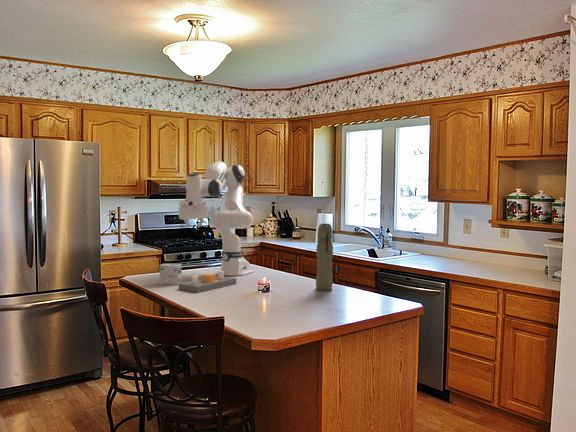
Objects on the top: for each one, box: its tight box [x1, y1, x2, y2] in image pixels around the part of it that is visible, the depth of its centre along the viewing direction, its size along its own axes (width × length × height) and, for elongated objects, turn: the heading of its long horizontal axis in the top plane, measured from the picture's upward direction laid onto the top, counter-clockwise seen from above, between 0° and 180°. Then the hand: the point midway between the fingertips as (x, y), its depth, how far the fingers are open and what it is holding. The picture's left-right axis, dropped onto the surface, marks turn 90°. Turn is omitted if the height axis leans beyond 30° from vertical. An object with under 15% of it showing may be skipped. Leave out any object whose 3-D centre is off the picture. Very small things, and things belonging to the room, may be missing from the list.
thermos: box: [315, 223, 334, 292], centre depth 279 cm, size 9×12×35 cm
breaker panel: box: [178, 275, 237, 293], centre depth 283 cm, size 30×14×3 cm, turn 145°
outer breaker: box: [191, 275, 199, 284], centre depth 275 cm, size 2×2×4 cm
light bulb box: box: [159, 263, 182, 286], centre depth 290 cm, size 11×7×11 cm, turn 84°
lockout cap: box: [200, 272, 217, 282], centre depth 283 cm, size 5×5×4 cm
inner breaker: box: [217, 270, 225, 279], centre depth 291 cm, size 2×2×4 cm
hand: (194, 226), depth 295 cm, fingers open, 8 cm apart
